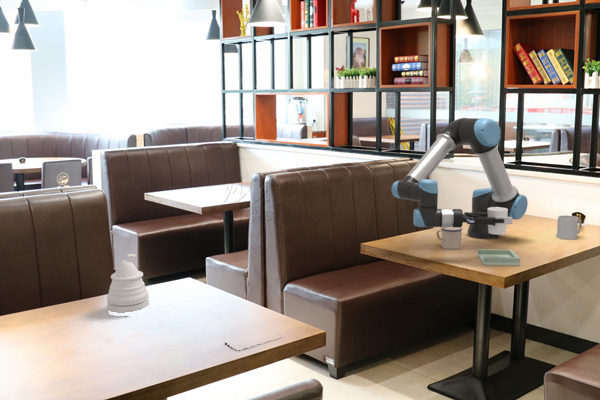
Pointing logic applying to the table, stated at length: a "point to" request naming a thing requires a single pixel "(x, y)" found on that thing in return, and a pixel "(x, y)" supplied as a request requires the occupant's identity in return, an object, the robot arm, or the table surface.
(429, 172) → the robot arm
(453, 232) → the teacup with lid
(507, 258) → the green tray
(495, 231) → the white cup
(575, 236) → the mug
